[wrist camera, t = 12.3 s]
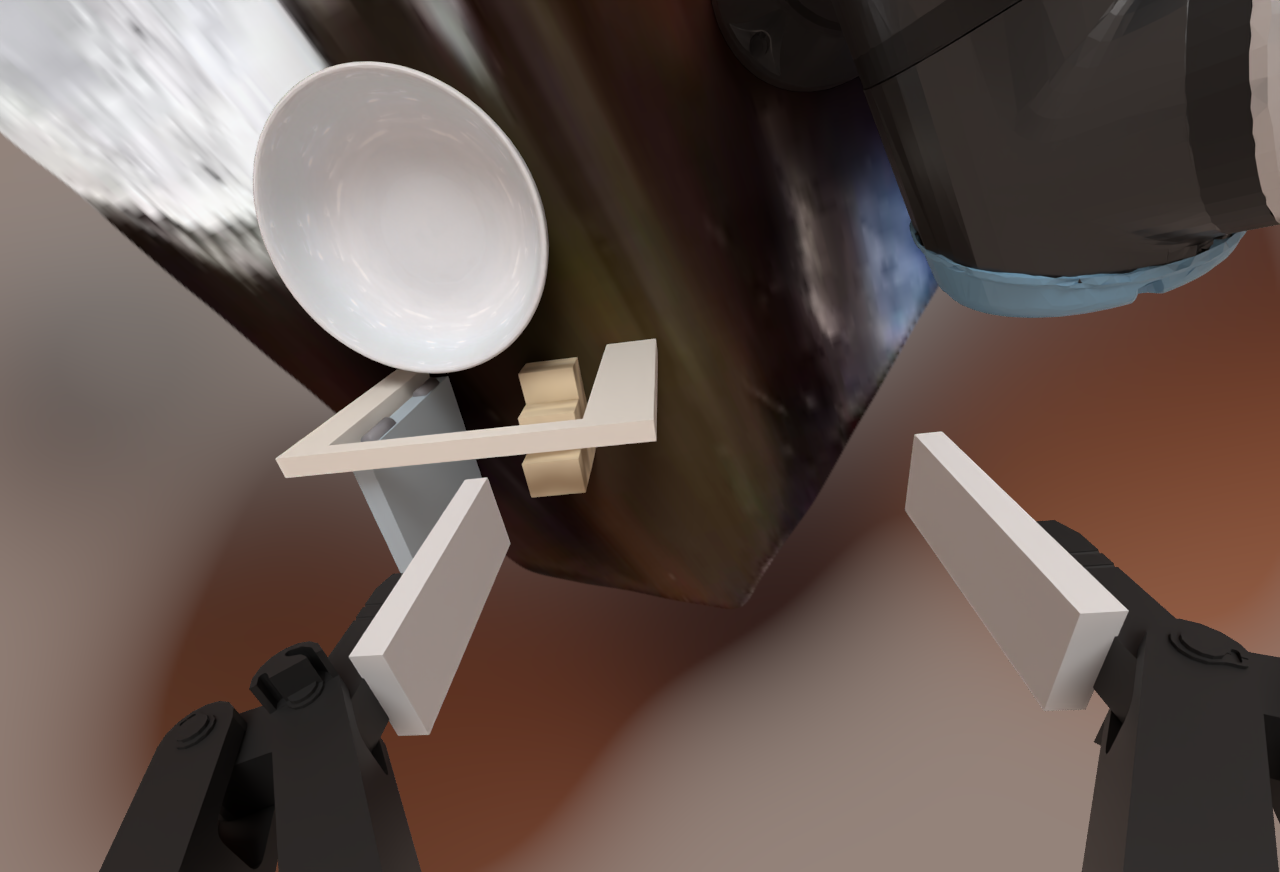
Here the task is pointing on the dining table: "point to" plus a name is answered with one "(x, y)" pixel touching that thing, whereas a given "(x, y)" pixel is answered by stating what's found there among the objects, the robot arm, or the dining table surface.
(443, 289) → the serving bowl
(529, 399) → the toy staircase
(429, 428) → the door
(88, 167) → the dining table surface
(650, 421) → the wall frame
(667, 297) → the dining table surface
